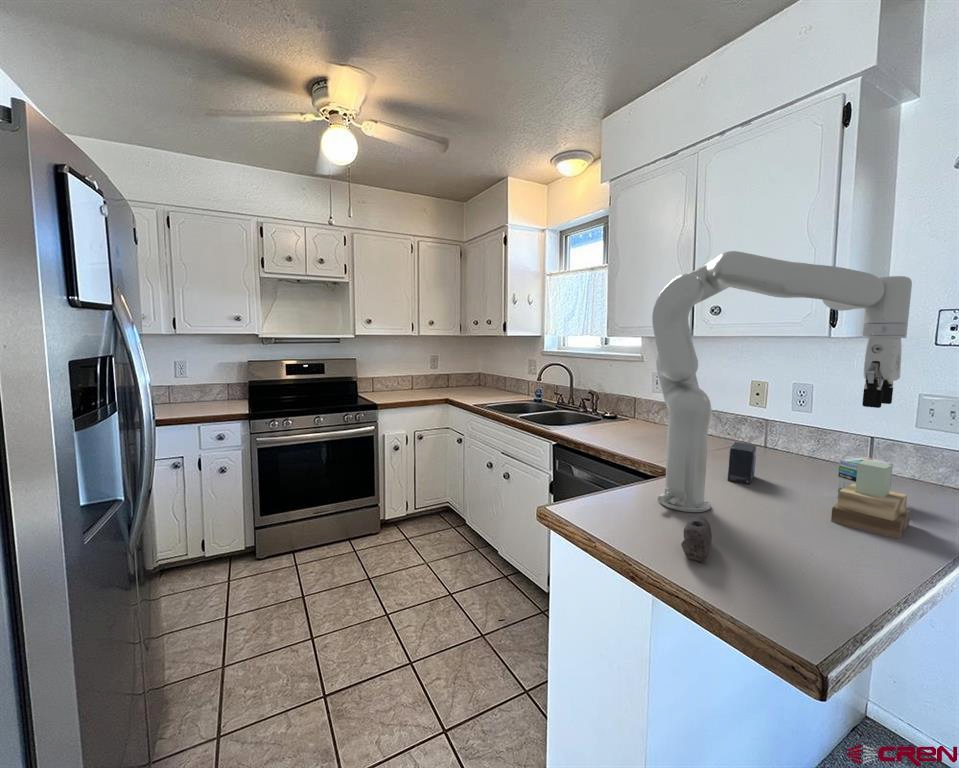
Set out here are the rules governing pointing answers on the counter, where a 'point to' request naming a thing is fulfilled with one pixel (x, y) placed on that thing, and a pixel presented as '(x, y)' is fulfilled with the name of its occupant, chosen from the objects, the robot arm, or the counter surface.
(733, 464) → the small box
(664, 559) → the counter surface
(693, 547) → the perforated stone tool
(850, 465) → the light bulb box
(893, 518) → the oak slab
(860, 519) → the walnut slab
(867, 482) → the sage block
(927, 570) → the counter surface
